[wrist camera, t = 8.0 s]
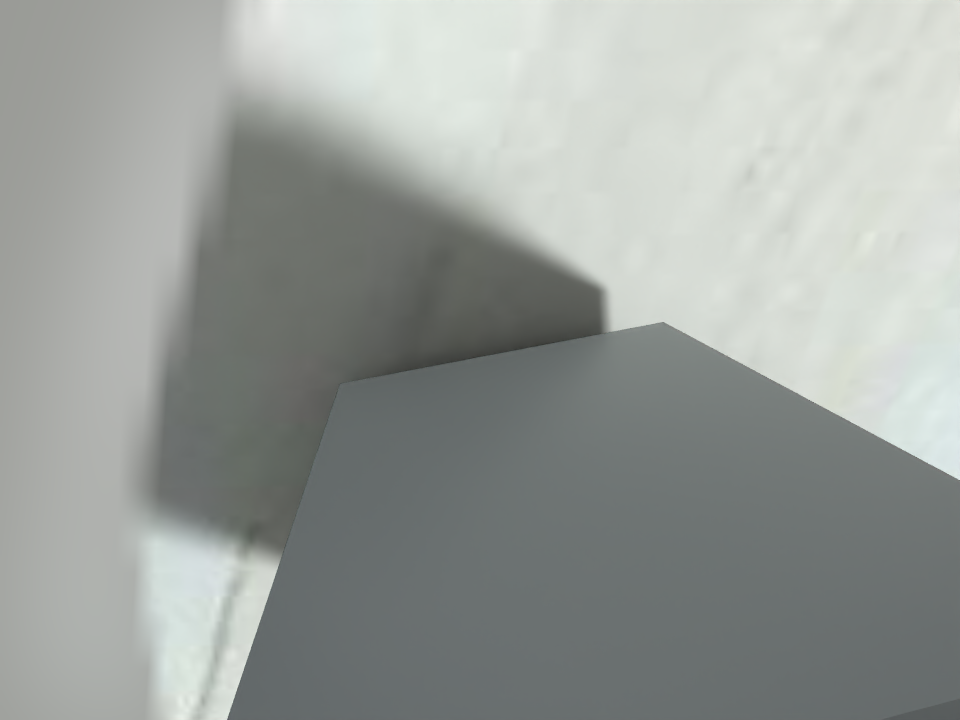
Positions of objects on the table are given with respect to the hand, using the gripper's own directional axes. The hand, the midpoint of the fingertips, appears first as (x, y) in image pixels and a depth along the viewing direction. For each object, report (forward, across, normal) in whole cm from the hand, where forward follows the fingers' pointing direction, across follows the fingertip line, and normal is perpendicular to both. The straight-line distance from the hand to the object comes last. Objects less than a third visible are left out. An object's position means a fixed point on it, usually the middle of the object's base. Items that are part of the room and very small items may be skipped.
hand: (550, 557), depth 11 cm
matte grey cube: (+2, 0, 0) cm, 2 cm away
